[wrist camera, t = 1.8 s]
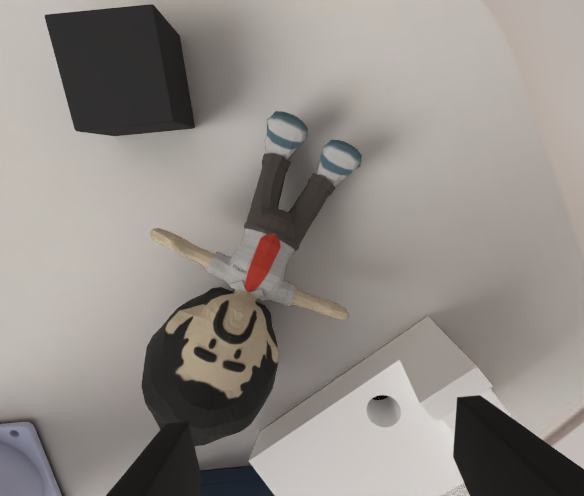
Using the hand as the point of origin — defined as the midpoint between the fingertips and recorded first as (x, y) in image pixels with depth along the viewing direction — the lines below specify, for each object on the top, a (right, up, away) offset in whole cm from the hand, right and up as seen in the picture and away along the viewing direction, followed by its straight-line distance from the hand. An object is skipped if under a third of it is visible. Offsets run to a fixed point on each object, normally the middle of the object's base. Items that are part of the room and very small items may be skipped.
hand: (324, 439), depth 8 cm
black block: (-8, +13, +6) cm, 16 cm away
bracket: (+4, -5, +12) cm, 13 cm away
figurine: (-3, +4, +9) cm, 10 cm away
